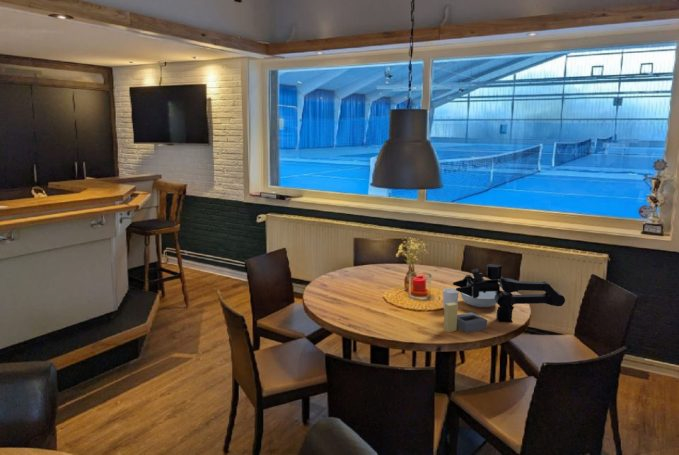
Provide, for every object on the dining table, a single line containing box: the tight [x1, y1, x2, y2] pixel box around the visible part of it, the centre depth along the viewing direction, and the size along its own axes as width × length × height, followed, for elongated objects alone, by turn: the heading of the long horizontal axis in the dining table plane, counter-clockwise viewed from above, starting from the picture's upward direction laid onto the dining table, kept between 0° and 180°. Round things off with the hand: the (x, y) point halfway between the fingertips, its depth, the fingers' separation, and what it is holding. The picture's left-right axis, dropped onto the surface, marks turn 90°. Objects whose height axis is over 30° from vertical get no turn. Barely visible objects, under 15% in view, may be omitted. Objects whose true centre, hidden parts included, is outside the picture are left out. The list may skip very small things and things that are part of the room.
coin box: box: [456, 311, 488, 334], centre depth 246 cm, size 12×11×4 cm
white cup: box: [442, 287, 460, 311], centre depth 269 cm, size 8×8×10 cm
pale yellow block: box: [443, 302, 459, 333], centre depth 240 cm, size 5×3×13 cm, turn 115°
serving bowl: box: [460, 291, 498, 308], centre depth 277 cm, size 21×21×7 cm
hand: (454, 286), depth 253 cm, fingers open, 9 cm apart
